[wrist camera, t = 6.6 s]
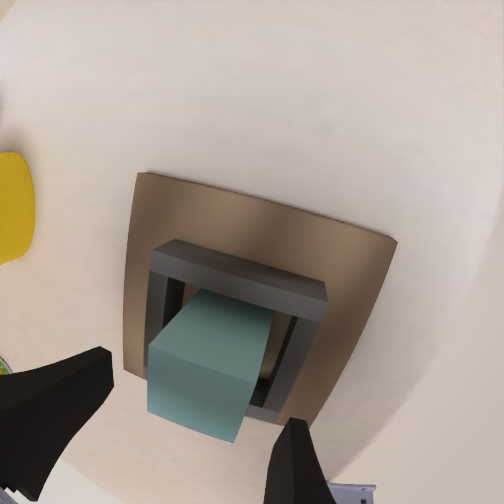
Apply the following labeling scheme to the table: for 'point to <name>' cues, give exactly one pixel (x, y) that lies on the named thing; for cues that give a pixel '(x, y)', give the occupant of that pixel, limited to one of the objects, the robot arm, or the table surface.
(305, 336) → the socket board
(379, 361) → the table surface
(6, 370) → the supplement bottle
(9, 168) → the tape roll
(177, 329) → the peg
